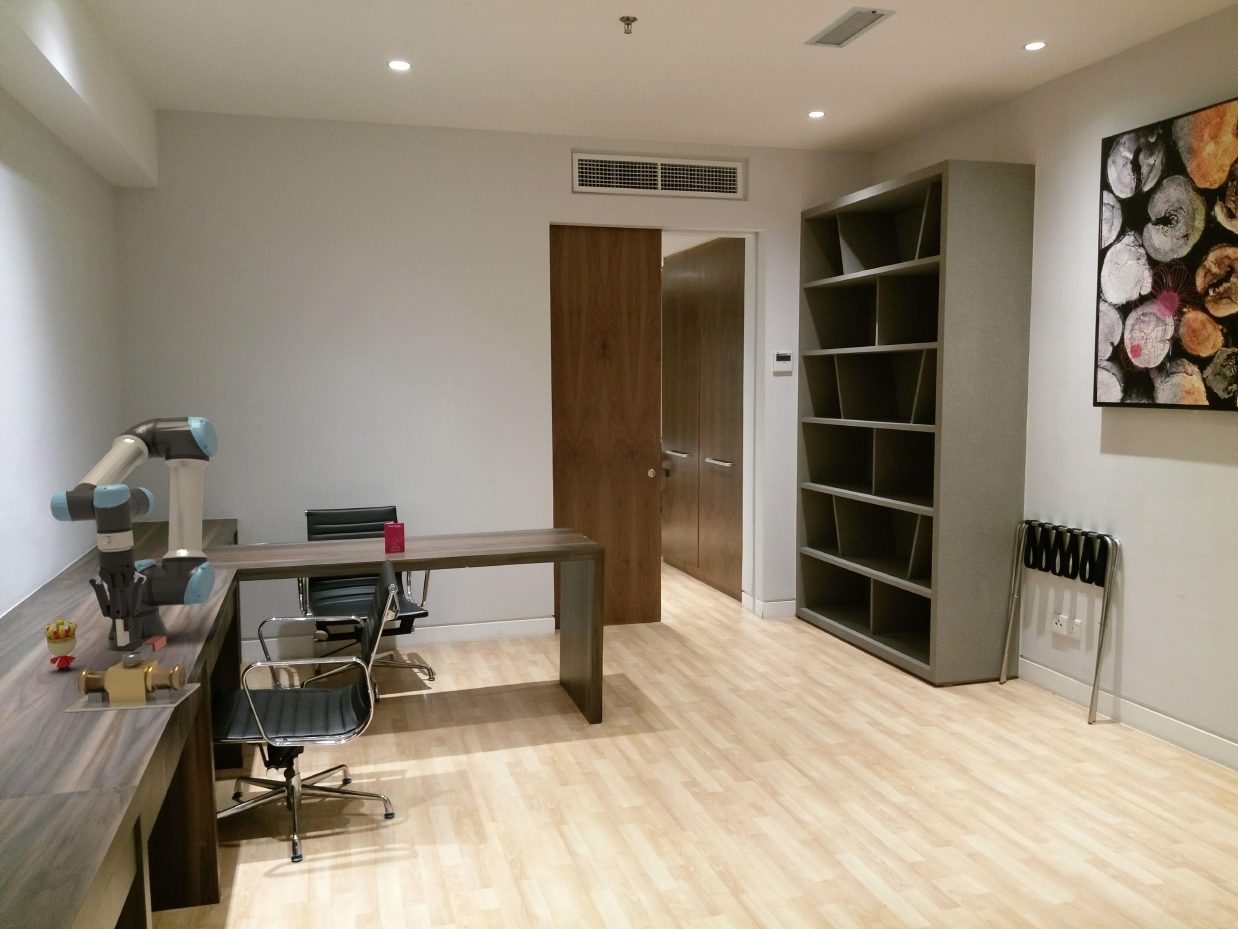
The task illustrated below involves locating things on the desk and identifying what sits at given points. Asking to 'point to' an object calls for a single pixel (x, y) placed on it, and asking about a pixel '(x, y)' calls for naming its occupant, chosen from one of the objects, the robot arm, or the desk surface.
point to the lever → (143, 651)
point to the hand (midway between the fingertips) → (123, 644)
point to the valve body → (133, 687)
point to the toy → (61, 643)
